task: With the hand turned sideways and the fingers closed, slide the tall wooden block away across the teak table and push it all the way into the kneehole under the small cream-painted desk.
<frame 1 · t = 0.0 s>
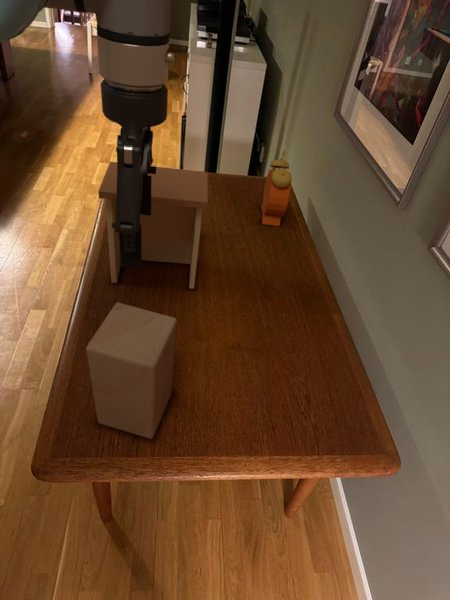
hand: (137, 237, 60), 29 cm above the table, tool pointing down, fingers open, 13 cm apart
alarm clock: (270, 217, 126), on the table
desk: (154, 277, 97), on the table
wooden block: (136, 408, 71), on the table
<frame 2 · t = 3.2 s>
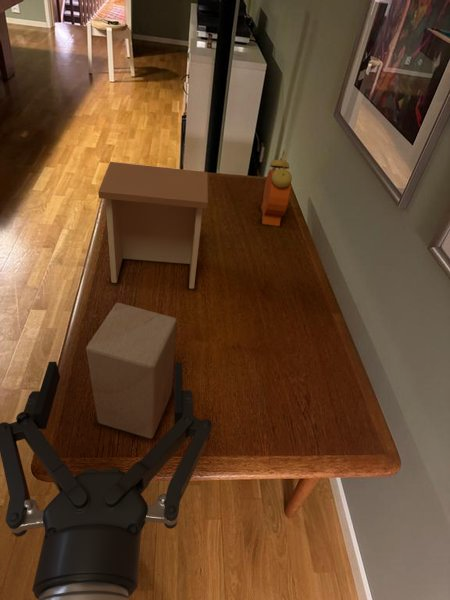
hand: (117, 369, 45), 26 cm above the table, tool horizontal, fingers open, 13 cm apart
nothing on the table moved.
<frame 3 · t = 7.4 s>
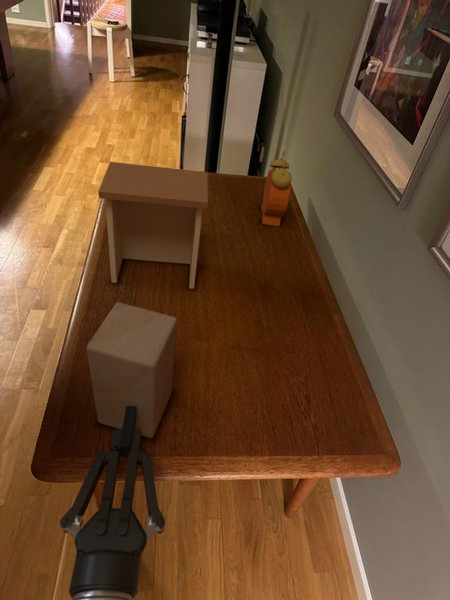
hand: (131, 411, 62), 8 cm above the table, tool horizontal, fingers closed
wooden block: (136, 407, 71), on the table, touching gripper
everything else where it was.
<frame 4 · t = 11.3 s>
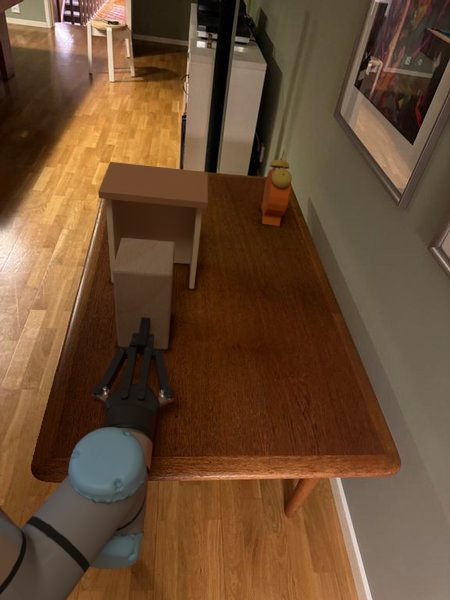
hand: (145, 322, 75), 8 cm above the table, tool horizontal, fingers closed
wooden block: (145, 331, 85), on the table, touching gripper
everything else where it was.
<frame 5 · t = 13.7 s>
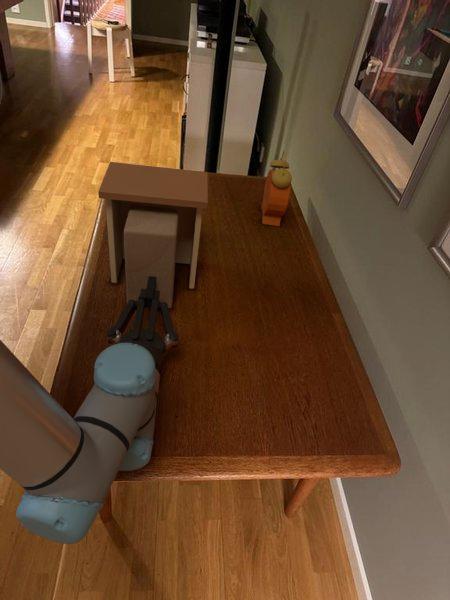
hand: (152, 281, 84), 8 cm above the table, tool horizontal, fingers closed
wooden block: (151, 293, 93), on the table, touching gripper
everything else where it was.
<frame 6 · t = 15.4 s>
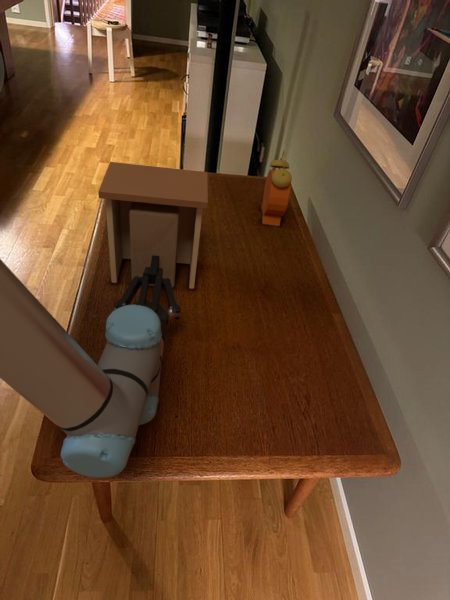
hand: (155, 260, 89), 8 cm above the table, tool horizontal, fingers closed
wooden block: (154, 274, 99), on the table, touching desk, gripper
everything else where it was.
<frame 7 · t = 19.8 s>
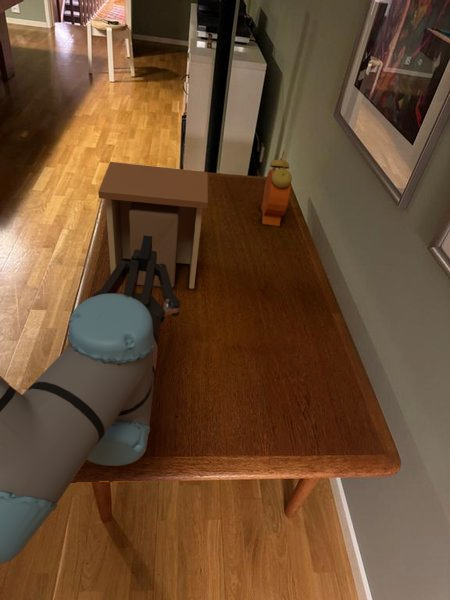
hand: (147, 242, 71), 22 cm above the table, tool horizontal, fingers closed
wooden block: (154, 274, 99), on the table
everything else where it was.
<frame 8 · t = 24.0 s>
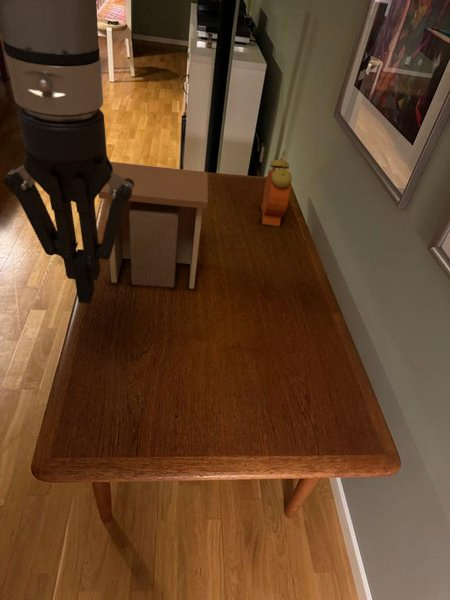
hand: (86, 295, 53), 26 cm above the table, tool pointing down, fingers closed
nothing on the table moved.
at the end: wooden block inside the target area on the desk (1.5 cm from its centre), point 0.0 cm above the desk's base; wooden block tilted 0°; the gripper is holding nothing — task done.
